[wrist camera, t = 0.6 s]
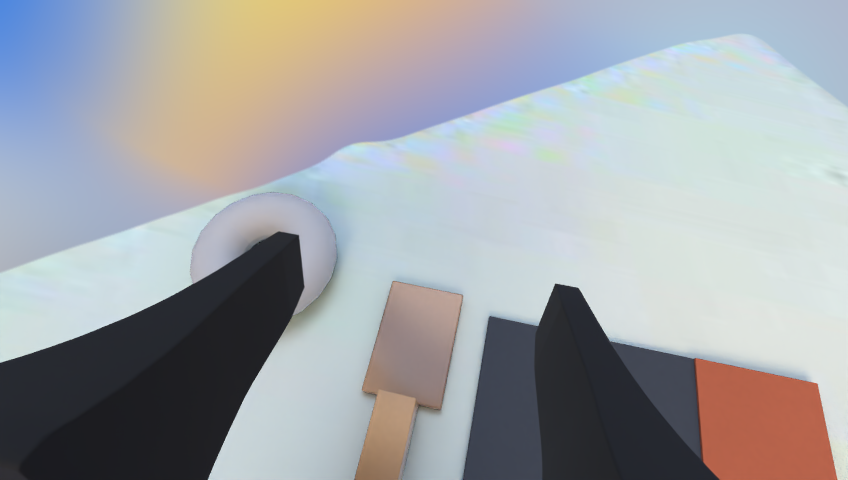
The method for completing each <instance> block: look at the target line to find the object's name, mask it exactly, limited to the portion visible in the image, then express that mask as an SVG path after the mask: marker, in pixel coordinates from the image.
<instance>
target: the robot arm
mask: <svg viewBox="0 0 848 480" xmlns="http://www.w3.org/2000/svg"><path fill="white" fill-rule="evenodd" d="M304 288H305V286H304V277H303V267H302V258H301V249H300V239H299V235H296V234H291V233H286V232H280V231H278V232H276V233H275V234H273V235H271V236H270V237H268V238H267V239H265V240H264V241H262V242H260V243H259V244H257V245H256V246H254V247H253V248H251V249H250V250H248V251H247V252H245V253H244V254H242V255H240V256H239V257H237V258H236V259H234V260H233V261H231V262H229V263H228V264H226V265H225V266H223V267H221V268H220V269H218V270H217V271H215V272H213V273H212V274H210V275H208V276H206V277H205V278H203V279H201V280H199V281H198V282H196V283H194V284H192V285H191V286H189V287H187V288H185V289H184V290H182V291H180V292H178V293H176V294H174V295H173V296H171V297H169V298H167V299H165V300H163V301H161V302H159V303H157V304H155V305H152V306H150V307H148V308H146V309H144V310H142V311H140V312H138V313H136V314H133V315H131V316H129V317H127V318H124V319H122V320H119V321H117V322H114V323H112V324H109V325H107V326H105V327H102V328H100V329H97V330H95V331H92V332H90V333H88V334H85V335H82V336H80V337H77V338H74V339H72V340H69V341H66V342H63V343H60V344H58V345H55V346H52V347H49V348H46V349H43V350H40V351H37V352H34V353H31V354H28V355H25V356H22V357H18V358H15V359H12V360H8V361H5V362H2V363H0V480H208V477H209V475H210V473H211V470H212V468H213V465H214V463H215V461H216V459H217V456H218V454H219V452H220V450H221V447H222V445H223V443H224V441H225V438H226V436H227V434H228V432H229V429H230V427H231V425H232V423H233V421H234V419H235V417H236V415H237V412H238V410H239V408H240V406H241V404H242V402H243V400H244V398H245V396H246V394H247V392H248V390H249V389H250V387H251V385H252V383H253V381H254V380H255V378H256V376H257V375H258V373H259V371H260V370H261V368H262V366H263V365H264V363H265V362H266V360H267V358H268V357H269V355H270V353H271V352H272V350H273V348H274V347H275V345H276V343H277V342H278V340H279V338H280V337H281V335H282V333H283V331H284V330H285V328H286V326H287V325H288V323H289V321H290V319H291V318H292V316H293V313H294V311H295V309H296V307H297V304H298V302H299V300H300V297H301V295H302V292H303V290H304ZM534 371H535V383H536V395H537V405H538V416H539V427H540V437H541V449H542V480H720V479H719V478H718V477H717V476H716V475H715V474H714V473H713V472H712V471H711V470H710V469H709V468H708V467H707V466H706V465H705V464H704V462H703V461H702V460H701V459H700V458H699V457H698V456H697V455H696V454H695V453H694V452H693V451H692V450H691V448H690V447H689V446H688V445H687V444H686V443H685V442H684V441H683V439H682V438H681V437H680V436H679V435H678V434H677V433H676V431H675V430H674V429H673V428H672V427H671V425H670V424H669V423H668V422H667V421H666V419H665V418H664V417H663V416H662V414H661V413H660V412H659V411H658V410H657V408H656V407H655V406H654V405H653V403H652V402H651V401H650V399H649V398H648V397H647V395H646V394H645V393H644V391H643V390H642V389H641V387H640V386H639V384H638V383H637V382H636V380H635V379H634V377H633V376H632V375H631V373H630V372H629V370H628V369H627V367H626V366H625V364H624V363H623V361H622V360H621V358H620V357H619V355H618V353H617V352H616V350H615V349H614V347H613V346H612V344H611V342H610V341H609V339H608V338H607V336H606V334H605V333H604V331H603V329H602V328H601V326H600V324H599V323H598V321H597V319H596V317H595V316H594V314H593V312H592V310H591V309H590V307H589V305H588V303H587V302H586V300H585V298H584V296H583V295H582V293H581V291H580V290H579V288H576V287H570V286H565V285H560V284H555V286H554V288H553V291H552V293H551V296H550V298H549V301H548V303H547V306H546V308H545V311H544V313H543V316H542V318H541V321H540V323H539V326H538V328H537V331H536V333H535V356H534Z"/></svg>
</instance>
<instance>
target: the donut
mask: <svg viewBox="0 0 848 480" xmlns="http://www.w3.org/2000/svg"><path fill="white" fill-rule="evenodd" d="M278 231H280V232H286V233H291V234H296V235H299V239H300V249H301V258H302V267H303V277H304V286H305V288H304V290H303V292H302V295H301V297H300V300H299V302H298V304H297V307H296V309H295V311H294V313H293V315H296V314H298V313H300V312H301V311H302V310H304V309H305V308H306V307H307V306H308V305H310V304H311V303H312V302H313V301H314V300H315V299H317V298H318V297H319V296H320V294H321V293H322V291H323V290H324V288H325V287H326V285H327V283H328V282H329V280H330V279H331V277H332V274H333V270H334V267H335V263H336V260H337V250H336V236H335V233H334V231H333V229H332V227H331V225H330V223H329V220H328V219H327V217H326V216H325V215H324V214H323V213H322V212H321V211H320V210H319V209H318V208H317V207H315V206H314V205H313V204H312V203H310V202H308V201H306V200H304V199H301V198H299V197H297V196H295V195H292V194H283V193H275V192H270V193H263V194H256V195H251V196H249V197H246V198H244V199H241V200H239V201H236V202H234V203H232V204H230V205H229V206H228V207H226V208H225V209H223V210H222V211H220V212H219V213H218V214H216V215H215V216H214V217H213V218H212V219H211V221H210V222H209V223H208V224H207V225H206V226H205V227H204V229H203V230H202V231H201V233H200V235H199V237H198V239H197V241H196V243H195V245H194V248H193V250H192V257H191V265H190V275H191V279H192V283H193V284H194V283H196V282H198V281H199V280H201V279H203V278H205V277H206V276H208V275H210V274H212V273H213V272H215V271H217V270H218V269H220V268H221V267H223V266H225V265H226V264H228V263H229V262H231V261H233V260H234V259H236V258H237V257H239V256H240V255H242V254H244V253H245V252H247V251H248V250H250V249H251V248H252V247H253V246H254V245H255V244H257V243H258V242H260V241H262V240H265V239H267V238H268V237H270V236H271V235H273V234H275V233H276V232H278Z"/></svg>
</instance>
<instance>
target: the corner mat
mask: <svg viewBox="0 0 848 480" xmlns="http://www.w3.org/2000/svg"><path fill="white" fill-rule="evenodd" d="M537 328H538V326H534V325H529V324H524V323H520V322H515V321H510V320H505V319H501V318H496V317H491V316H490V317H489V322H488V328H487V334H486V340H485V346H484V353H483V359H482V365H481V371H480V378H479V384H478V390H477V396H476V402H475V409H474V415H473V421H472V427H471V433H470V440H469V446H468V452H467V458H466V464H465V471H464V477H463V480H542V449H541V437H540V427H539V416H538V405H537V395H536V383H535V371H534V356H535V333H536V331H537ZM611 344H612V346H613V347H614V349H615V350H616V352H617V353H618V355H619V357H620V358H621V360H622V361H623V363H624V364H625V366H626V367H627V369H628V370H629V372H630V373H631V375H632V376H633V377H634V379H635V380H636V382H637V383H638V384H639V386H640V387H641V389H642V390H643V391H644V393H645V394H646V395H647V397H648V398H649V399H650V401H651V402H652V403H653V405H654V406H655V407H656V408H657V410H658V411H659V412H660V413H661V414H662V416H663V417H664V418H665V419H666V421H667V422H668V423H669V424H670V425H671V427H672V428H673V429H674V430H675V431H676V433H677V434H678V435H679V436H680V437H681V438H682V439H683V441H684V442H685V443H686V444H687V445H688V446H689V447H690V448H691V450H692V451H693V452H694V453H695V454H696V455H697V456H698V457H699V458H700V459H701V460H702V461H703V462H704V464H705V465H706V466H707V467H708V468H709V469H710V470H711V471H712V472H713V473H714V474H715V475H716V476H717V477H718V478H719V479H720V480H837V476H836V471H835V467H834V462H833V457H832V452H831V447H830V442H829V438H828V433H827V428H826V423H825V418H824V413H823V409H822V404H821V399H820V394H819V389H818V384H817V383H812V382H807V381H802V380H797V379H793V378H788V377H783V376H778V375H774V374H769V373H764V372H759V371H754V370H750V369H745V368H740V367H735V366H731V365H726V364H721V363H716V362H711V361H707V360H702V359H697V358H695V359H692V358H687V357H682V356H677V355H672V354H668V353H663V352H658V351H653V350H649V349H644V348H639V347H634V346H629V345H625V344H620V343H615V342H611Z"/></svg>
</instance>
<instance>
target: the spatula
mask: <svg viewBox="0 0 848 480" xmlns="http://www.w3.org/2000/svg"><path fill="white" fill-rule="evenodd" d="M462 299H463V295H460V294H455V293H450V292H445V291H440V290H436V289H431V288H426V287H421V286H416V285H411V284H406V283H401V282H396V281H393V282H392V286H391V289H390V293H389V296H388V300H387V303H386V307H385V310H384V314H383V317H382V321H381V324H380V328H379V331H378V335H377V338H376V342H375V345H374V349H373V352H372V356H371V359H370V363H369V366H368V370H367V373H366V377H365V380H364V384H363V387H362V390H363V391H364V392H367V393H371V394H375V395H377V397H376V401H375V404H374V408H373V412H372V416H371V419H370V423H369V427H368V430H367V434H366V438H365V442H364V445H363V449H362V453H361V457H360V460H359V464H358V468H357V471H356V475H355V479H354V480H402V477H403V473H404V468H405V464H406V459H407V455H408V450H409V446H410V441H411V437H412V432H413V428H414V423H415V418H416V414H417V409H418V405H421V406H425V407H429V408H433V409H437V410H441V406H442V401H443V396H444V391H445V386H446V381H447V376H448V371H449V366H450V360H451V355H452V350H453V345H454V340H455V335H456V330H457V325H458V320H459V315H460V310H461V304H462Z"/></svg>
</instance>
